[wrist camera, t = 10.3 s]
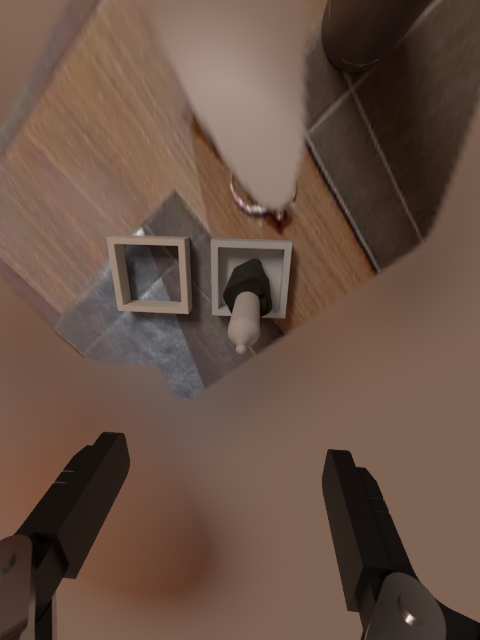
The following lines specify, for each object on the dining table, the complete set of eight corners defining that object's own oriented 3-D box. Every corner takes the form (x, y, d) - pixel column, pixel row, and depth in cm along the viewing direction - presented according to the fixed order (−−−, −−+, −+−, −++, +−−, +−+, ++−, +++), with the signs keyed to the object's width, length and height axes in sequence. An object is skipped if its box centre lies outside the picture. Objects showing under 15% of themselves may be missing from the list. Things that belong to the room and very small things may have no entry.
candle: (271, 283, 44) (283, 365, 21) (243, 296, 46) (227, 386, 23) (258, 255, 43) (256, 311, 20) (230, 269, 44) (197, 337, 21)
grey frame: (116, 234, 44) (106, 236, 41) (189, 237, 43) (184, 239, 40) (126, 304, 48) (118, 310, 45) (192, 307, 48) (188, 313, 45)
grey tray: (214, 237, 43) (210, 239, 40) (290, 240, 42) (292, 242, 39) (215, 308, 47) (212, 315, 45) (283, 311, 47) (285, 318, 44)
